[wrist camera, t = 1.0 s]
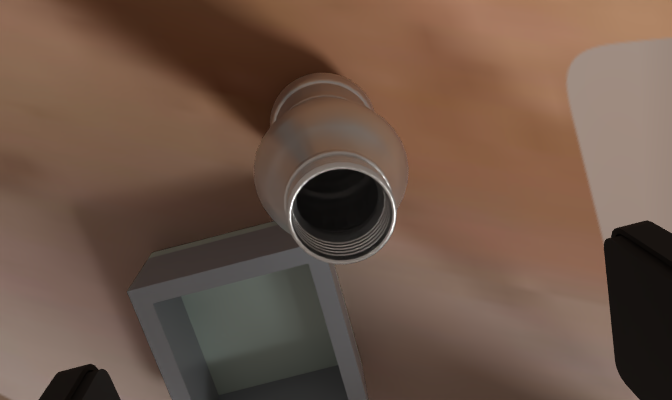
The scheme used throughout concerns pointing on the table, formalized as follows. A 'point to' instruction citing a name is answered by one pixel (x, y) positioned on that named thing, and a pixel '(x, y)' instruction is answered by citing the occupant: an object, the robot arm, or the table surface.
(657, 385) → the robot arm
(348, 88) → the plastic bottle
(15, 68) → the table surface
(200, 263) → the grey open box
